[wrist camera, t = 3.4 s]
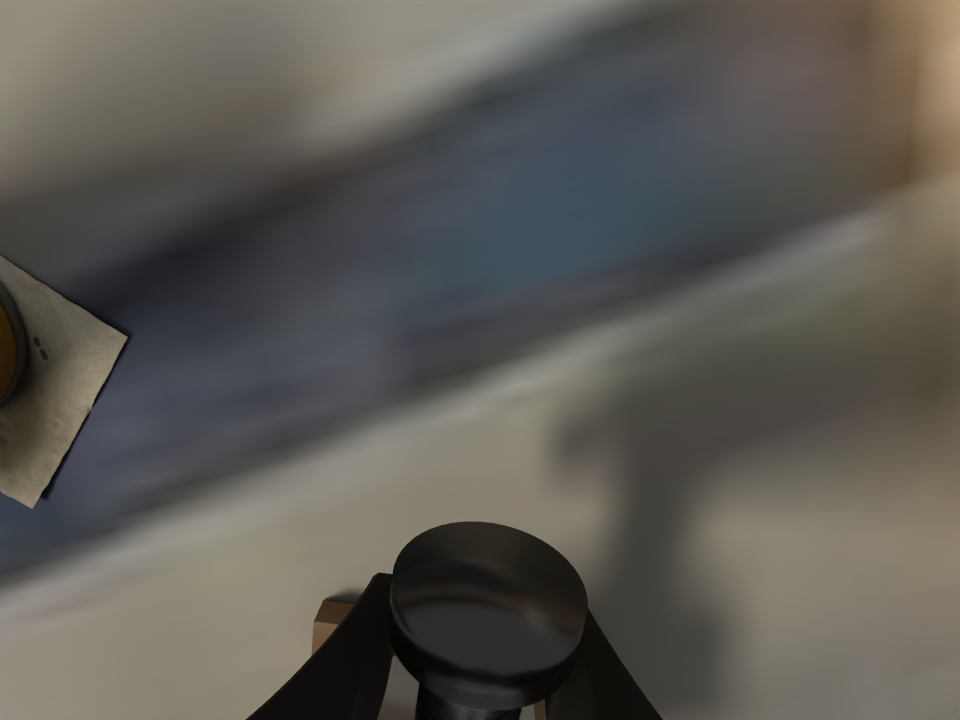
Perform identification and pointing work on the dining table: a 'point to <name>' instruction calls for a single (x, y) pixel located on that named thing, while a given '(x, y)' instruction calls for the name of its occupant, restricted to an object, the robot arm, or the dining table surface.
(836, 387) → the dining table surface
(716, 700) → the dining table surface
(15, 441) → the condiment
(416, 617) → the shaft
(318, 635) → the bearing stand
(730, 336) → the dining table surface
